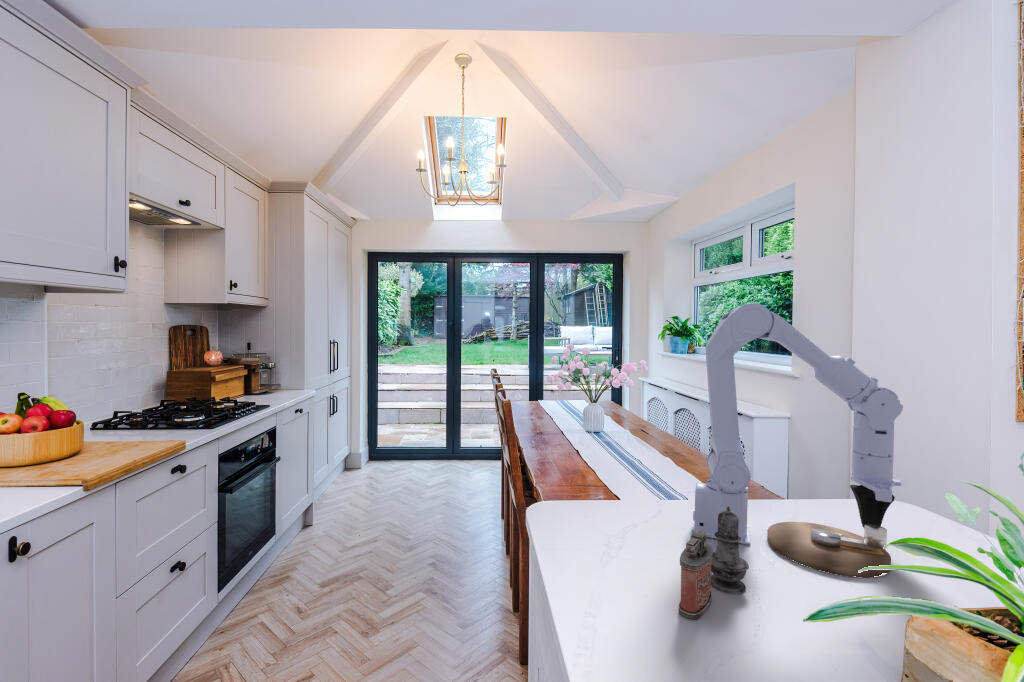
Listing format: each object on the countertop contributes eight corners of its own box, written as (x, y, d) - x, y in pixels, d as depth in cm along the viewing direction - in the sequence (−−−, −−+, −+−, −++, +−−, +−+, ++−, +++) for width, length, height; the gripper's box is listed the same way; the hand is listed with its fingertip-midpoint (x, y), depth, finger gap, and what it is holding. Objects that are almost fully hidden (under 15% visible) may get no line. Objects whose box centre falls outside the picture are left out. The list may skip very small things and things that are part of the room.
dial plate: (772, 562, 77) (772, 552, 77) (763, 522, 93) (763, 514, 93) (908, 588, 69) (908, 577, 69) (872, 540, 85) (872, 531, 85)
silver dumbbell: (811, 542, 80) (812, 520, 80) (809, 533, 84) (810, 512, 84) (889, 558, 75) (890, 534, 75) (883, 547, 79) (883, 524, 79)
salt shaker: (753, 597, 66) (755, 515, 66) (710, 592, 67) (712, 511, 67) (741, 576, 72) (743, 501, 72) (702, 572, 73) (703, 497, 73)
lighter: (692, 589, 68) (694, 522, 68) (716, 597, 66) (718, 529, 66) (673, 614, 62) (674, 541, 62) (698, 624, 60) (700, 548, 60)
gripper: (916, 466, 73) (914, 551, 73) (887, 446, 86) (885, 518, 86) (862, 460, 76) (860, 541, 76) (842, 442, 89) (840, 511, 89)
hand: (870, 529), depth 81 cm, fingers closed
